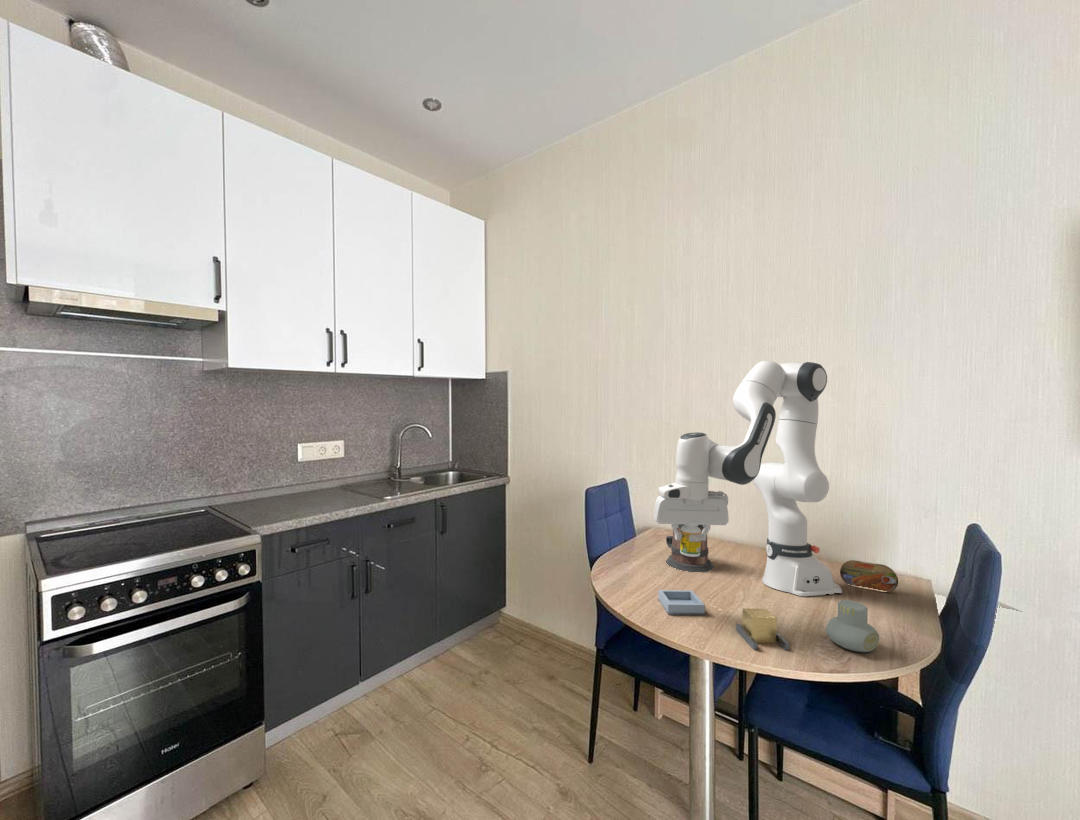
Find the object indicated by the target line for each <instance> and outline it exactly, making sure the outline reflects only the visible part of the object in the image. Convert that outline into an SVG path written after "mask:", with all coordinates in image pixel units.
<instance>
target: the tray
mask: <svg viewBox="0 0 1080 820" xmlns="http://www.w3.org/2000/svg"><path fill="white" fill-rule="evenodd" d="M657 597H658V602H659V601H660V602H659V603H660V605H661V606H662V607H663V609H664V610H665V612H666V613H667V615H670V616H671V615H674V616H685V615H686V616H705V611H706V610H705V609H706V608H705V607H706V605H705V603H704V602H703V601H702V600H701V598H700V597H699V596H698V595H697V594H696V593H695V592H694V591H693V590H691V589H690V590H687V589H683V590H678V589H673V590H671V589H658V596H657Z"/></svg>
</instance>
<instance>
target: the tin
mask: <svg viewBox="0 0 1080 820" xmlns="http://www.w3.org/2000/svg"><path fill="white" fill-rule="evenodd" d="M839 575H840V578H841V580H842V582H844V583H845V584H846V585H847V584H850V585H855V586H862V587H868V588H873V589H878V590H883V591H887V592H888V593H891V592H894V591H895V590H896V589H897V588H898V585H899V577H898V575H897V573H896V572H895V571H894V570H893V568H891V567H889V566H887V565H886V564H885V565H884V564H881V563H874V562H867V561H861V560H855V559H853V560H852V559H851V560H847V561H845V562H843V564H841V566H840V568H839Z"/></svg>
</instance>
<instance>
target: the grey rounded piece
mask: <svg viewBox="0 0 1080 820" xmlns="http://www.w3.org/2000/svg"><path fill="white" fill-rule="evenodd" d="M868 613H869V611H868V607H867V606H866V605H865V604H863V603H862V602H859V601H856V600H849V599H843V600H839V601H838V602H837V616H834V617H833V618H831V619H830V620H828V622H827V623H826V626H825V633H826V635H827V636H828V637H829V639H830V640H831V641H832V642H834V643H835V644H836V645H838V646H839V647H841V648H844V649H845V650H848V651H852V652H856V653H868V652H871V651H873V650H874V649H875V648H877V646H878V644H879V642H880V634H879V632H878V631H877V630H876V629H875V628H874V627H873V626H872V625H870V624H869V623H868Z"/></svg>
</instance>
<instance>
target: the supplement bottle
mask: <svg viewBox="0 0 1080 820" xmlns="http://www.w3.org/2000/svg"><path fill="white" fill-rule="evenodd" d="M697 526H698V525H697V523H696V521H690V523H689V524H684V526H682V527H681V534H682V537H681V538H682V540H681V543H680V552H681V554H683V555H685V556H690V557H697V556H699V555H700V548H701V530H700V528H698V527H697Z"/></svg>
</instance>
